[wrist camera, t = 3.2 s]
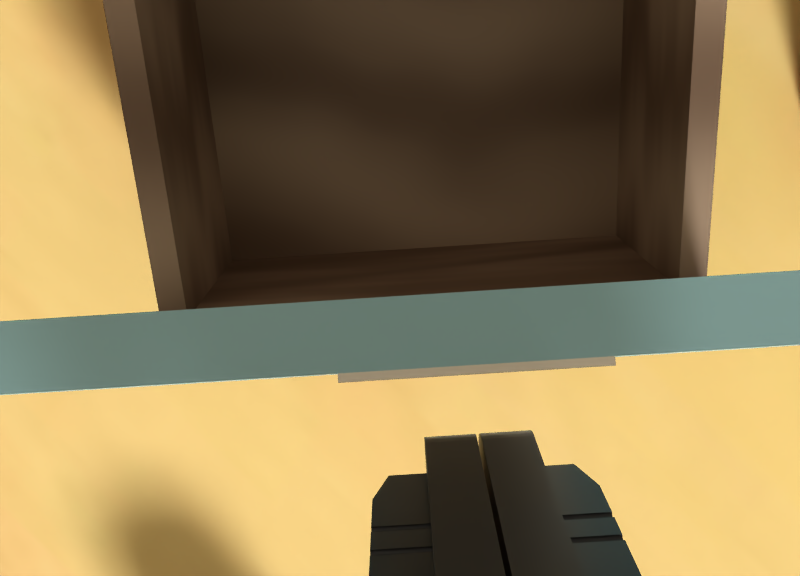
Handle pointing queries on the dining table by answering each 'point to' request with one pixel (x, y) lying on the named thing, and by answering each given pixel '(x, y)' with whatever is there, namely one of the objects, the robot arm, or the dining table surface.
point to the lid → (403, 334)
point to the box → (417, 143)
